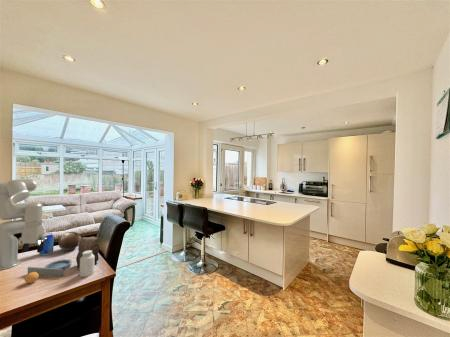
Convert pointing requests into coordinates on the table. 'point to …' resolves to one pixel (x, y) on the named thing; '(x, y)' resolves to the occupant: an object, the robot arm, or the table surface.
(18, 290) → the table surface
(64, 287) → the table surface
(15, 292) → the table surface
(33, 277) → the ball
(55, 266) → the bowl
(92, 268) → the pill bottle
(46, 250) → the beer can
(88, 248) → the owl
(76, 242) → the wooden sphere
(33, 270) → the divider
